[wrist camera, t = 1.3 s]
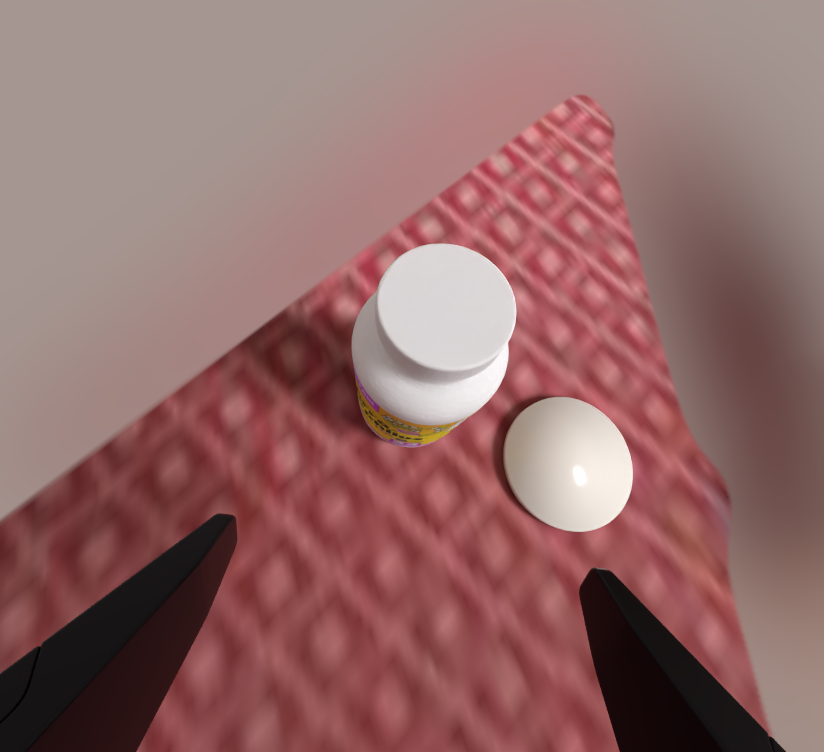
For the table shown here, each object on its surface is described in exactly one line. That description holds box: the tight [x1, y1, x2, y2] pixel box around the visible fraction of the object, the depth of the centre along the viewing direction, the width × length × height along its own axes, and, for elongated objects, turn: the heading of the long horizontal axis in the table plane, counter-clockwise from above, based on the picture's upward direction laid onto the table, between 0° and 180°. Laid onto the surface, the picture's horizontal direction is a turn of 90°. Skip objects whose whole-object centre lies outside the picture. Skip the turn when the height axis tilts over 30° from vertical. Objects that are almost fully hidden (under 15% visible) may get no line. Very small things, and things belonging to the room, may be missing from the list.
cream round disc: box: [503, 397, 633, 532], centre depth 23 cm, size 8×8×1 cm
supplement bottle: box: [352, 244, 516, 447], centre depth 18 cm, size 7×7×13 cm
